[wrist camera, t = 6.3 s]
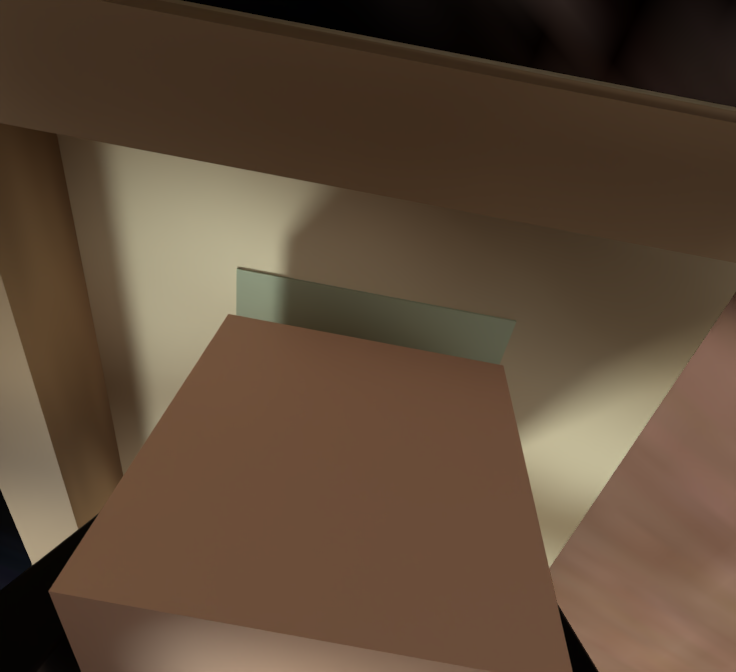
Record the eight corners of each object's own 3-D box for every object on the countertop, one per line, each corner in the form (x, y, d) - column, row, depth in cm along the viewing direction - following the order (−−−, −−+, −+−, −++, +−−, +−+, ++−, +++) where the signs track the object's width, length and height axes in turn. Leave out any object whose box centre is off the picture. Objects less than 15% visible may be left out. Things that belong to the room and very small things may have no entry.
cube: (503, 365, 9) (575, 686, 5) (436, 529, 11) (444, 820, 7) (228, 313, 9) (49, 591, 4) (229, 491, 11) (118, 763, 7)
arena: (485, 629, 18) (494, 726, 16) (117, 561, 18) (68, 649, 16) (801, 120, 8) (968, 167, 6) (-29, -40, 8) (-234, -64, 6)
